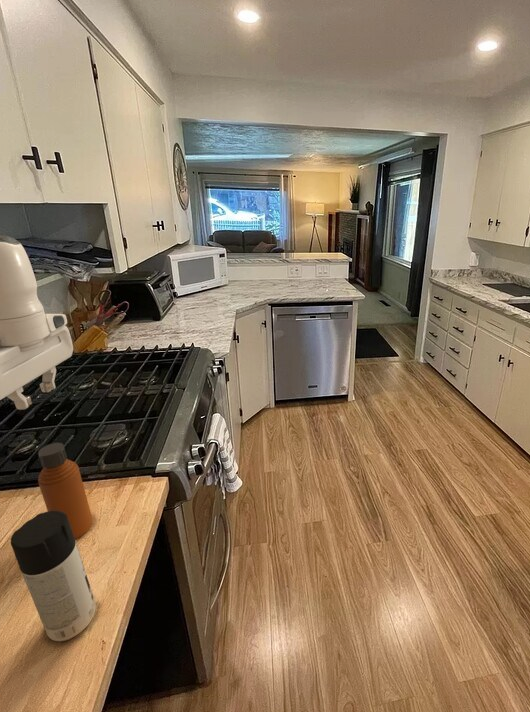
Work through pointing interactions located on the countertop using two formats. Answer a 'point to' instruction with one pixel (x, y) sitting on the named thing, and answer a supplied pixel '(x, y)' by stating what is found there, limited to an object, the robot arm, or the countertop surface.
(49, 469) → the bottle
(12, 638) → the countertop surface
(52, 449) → the cap
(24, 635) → the countertop surface
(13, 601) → the countertop surface
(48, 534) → the spray can
